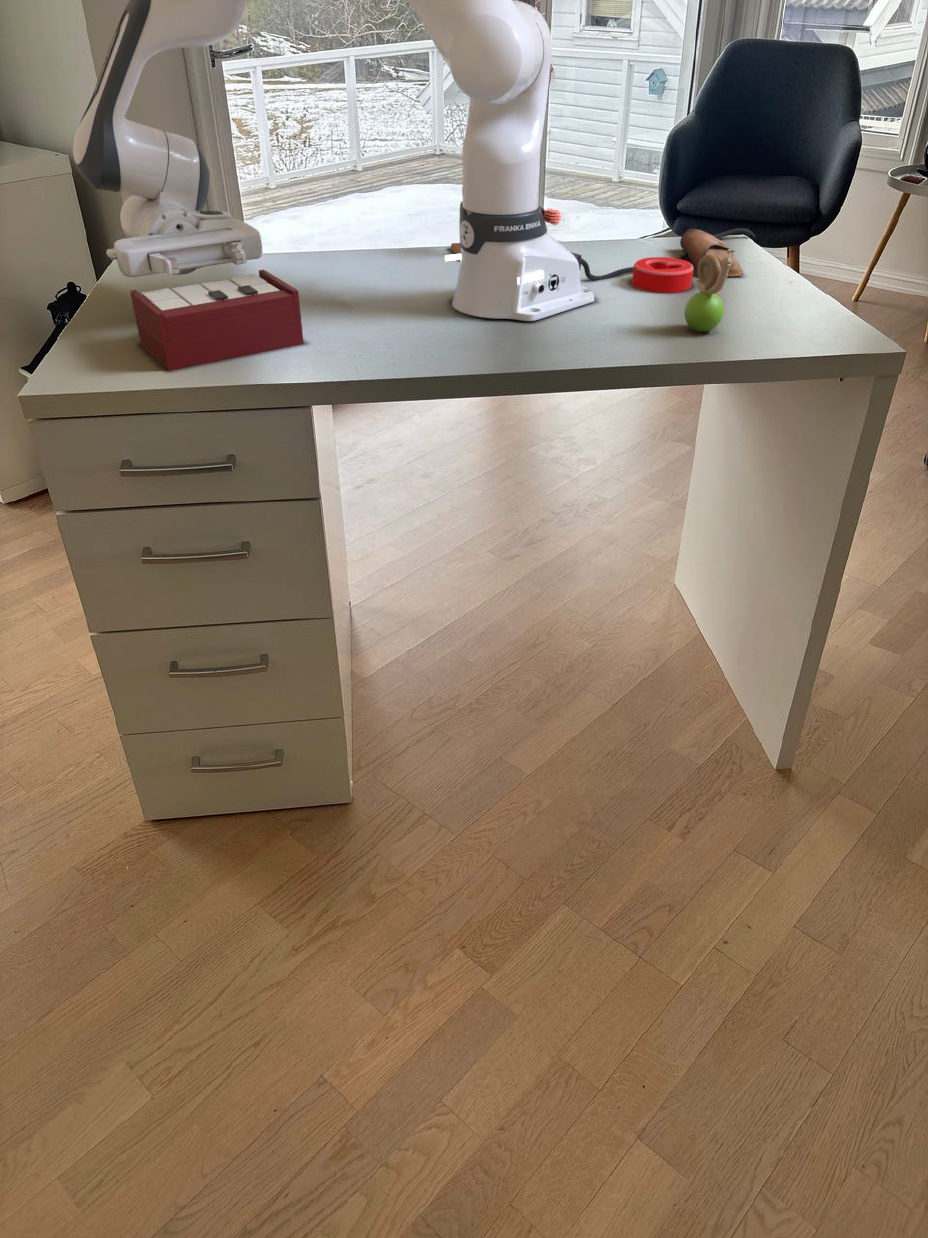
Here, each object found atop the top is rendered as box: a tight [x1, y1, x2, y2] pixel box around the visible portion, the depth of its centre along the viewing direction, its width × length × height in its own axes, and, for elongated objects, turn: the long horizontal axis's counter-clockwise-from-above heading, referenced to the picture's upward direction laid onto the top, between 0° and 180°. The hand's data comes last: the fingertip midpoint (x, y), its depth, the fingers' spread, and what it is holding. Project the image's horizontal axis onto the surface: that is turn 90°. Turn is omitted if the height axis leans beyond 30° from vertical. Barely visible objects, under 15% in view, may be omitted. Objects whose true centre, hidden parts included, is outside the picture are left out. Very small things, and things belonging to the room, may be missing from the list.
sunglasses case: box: [679, 228, 744, 278], centre depth 162 cm, size 18×7×7 cm
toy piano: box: [129, 269, 305, 372], centre depth 127 cm, size 19×12×7 cm, turn 122°
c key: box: [229, 273, 267, 287], centre depth 131 cm, size 4×4×1 cm
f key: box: [140, 287, 179, 303], centre depth 126 cm, size 4×4×1 cm
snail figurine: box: [683, 248, 736, 333], centre depth 130 cm, size 5×6×12 cm
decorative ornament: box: [631, 256, 695, 294], centre depth 152 cm, size 10×10×3 cm
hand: (207, 262), depth 126 cm, fingers open, 8 cm apart
